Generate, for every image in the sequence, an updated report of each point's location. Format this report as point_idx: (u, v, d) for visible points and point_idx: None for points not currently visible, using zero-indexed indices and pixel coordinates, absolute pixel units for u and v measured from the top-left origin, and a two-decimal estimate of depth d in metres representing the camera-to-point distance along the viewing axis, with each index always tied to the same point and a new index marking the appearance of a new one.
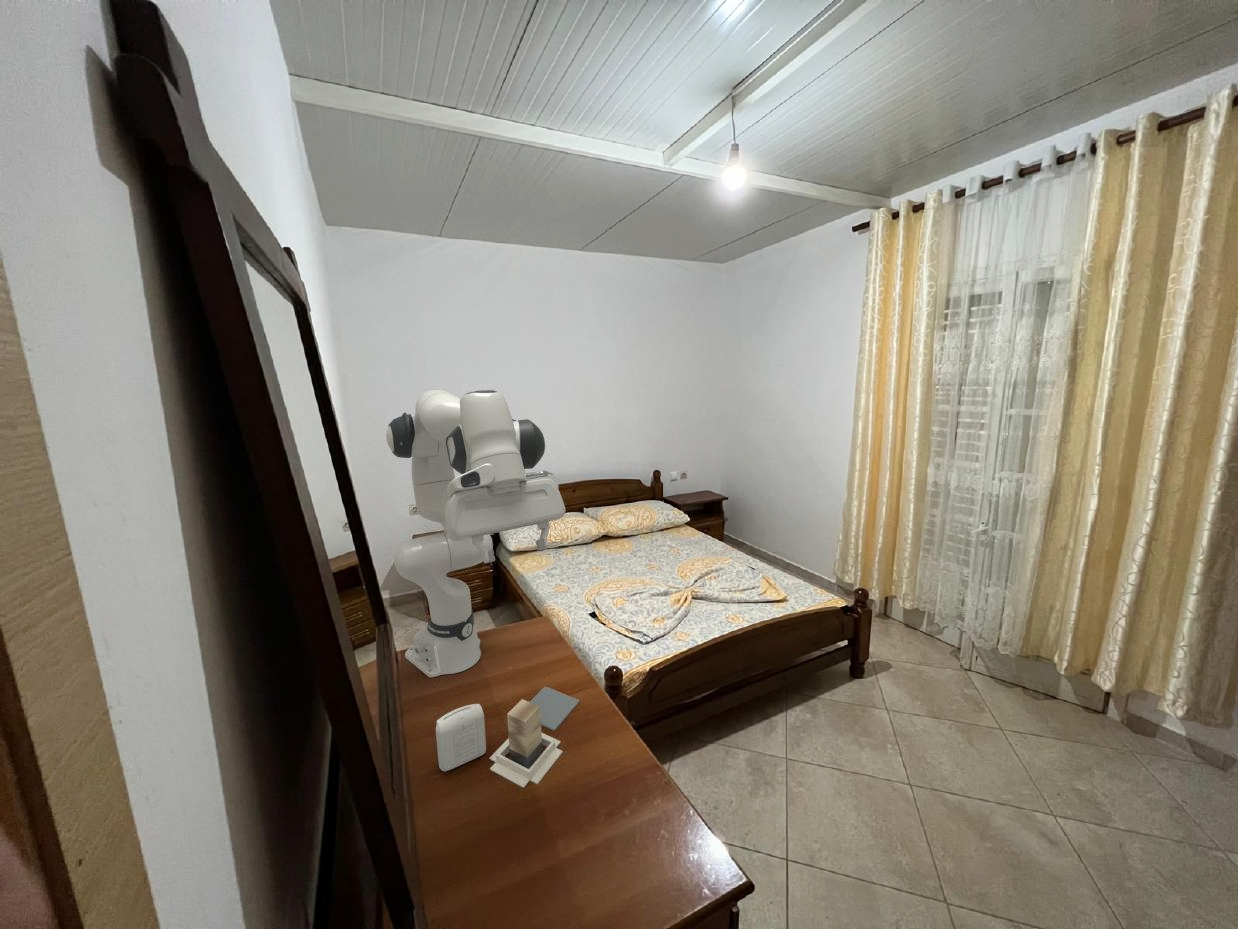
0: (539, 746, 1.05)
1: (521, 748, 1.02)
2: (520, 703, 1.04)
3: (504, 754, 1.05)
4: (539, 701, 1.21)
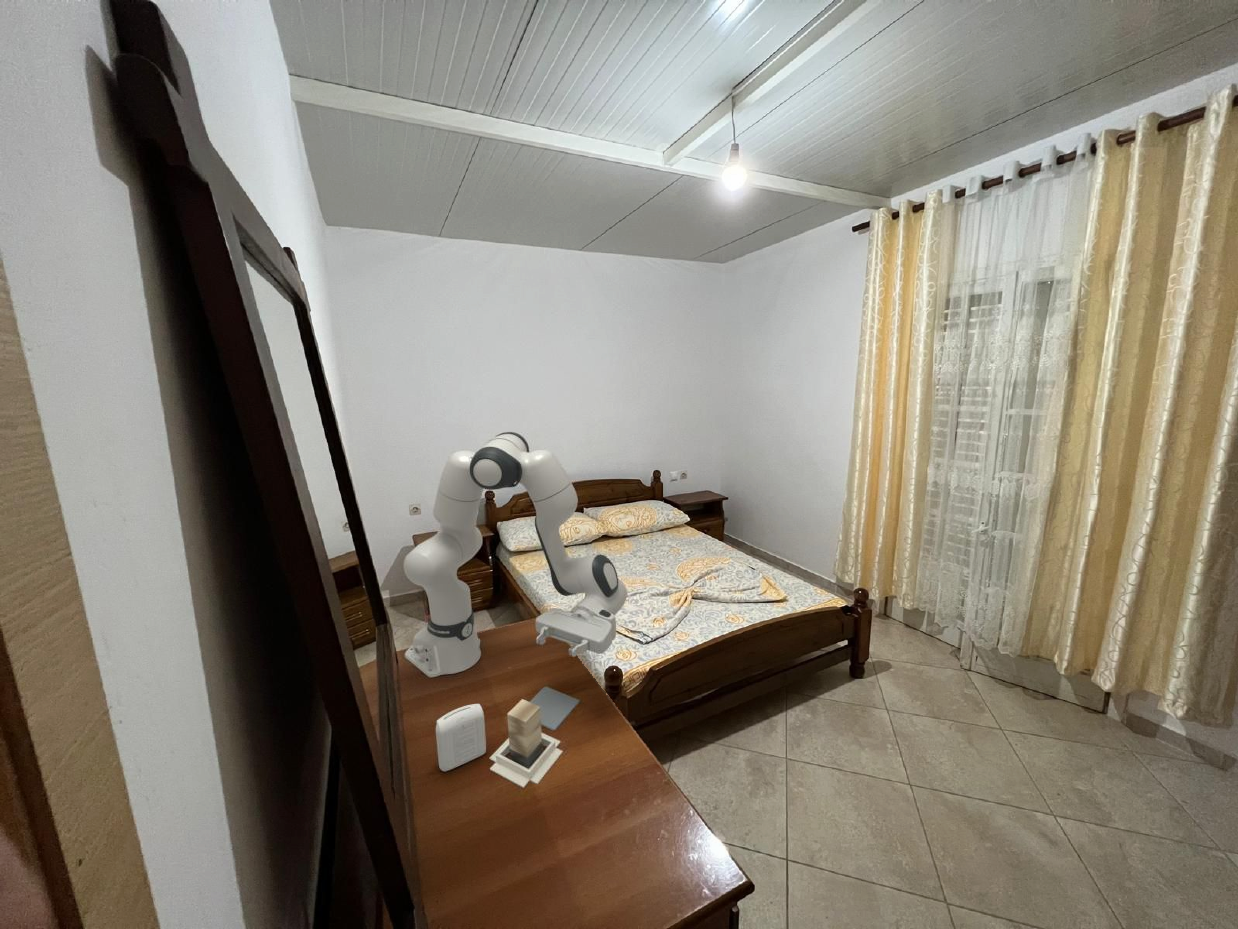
0: (539, 746, 1.05)
1: (521, 748, 1.02)
2: (520, 703, 1.04)
3: (504, 754, 1.05)
4: (539, 701, 1.21)
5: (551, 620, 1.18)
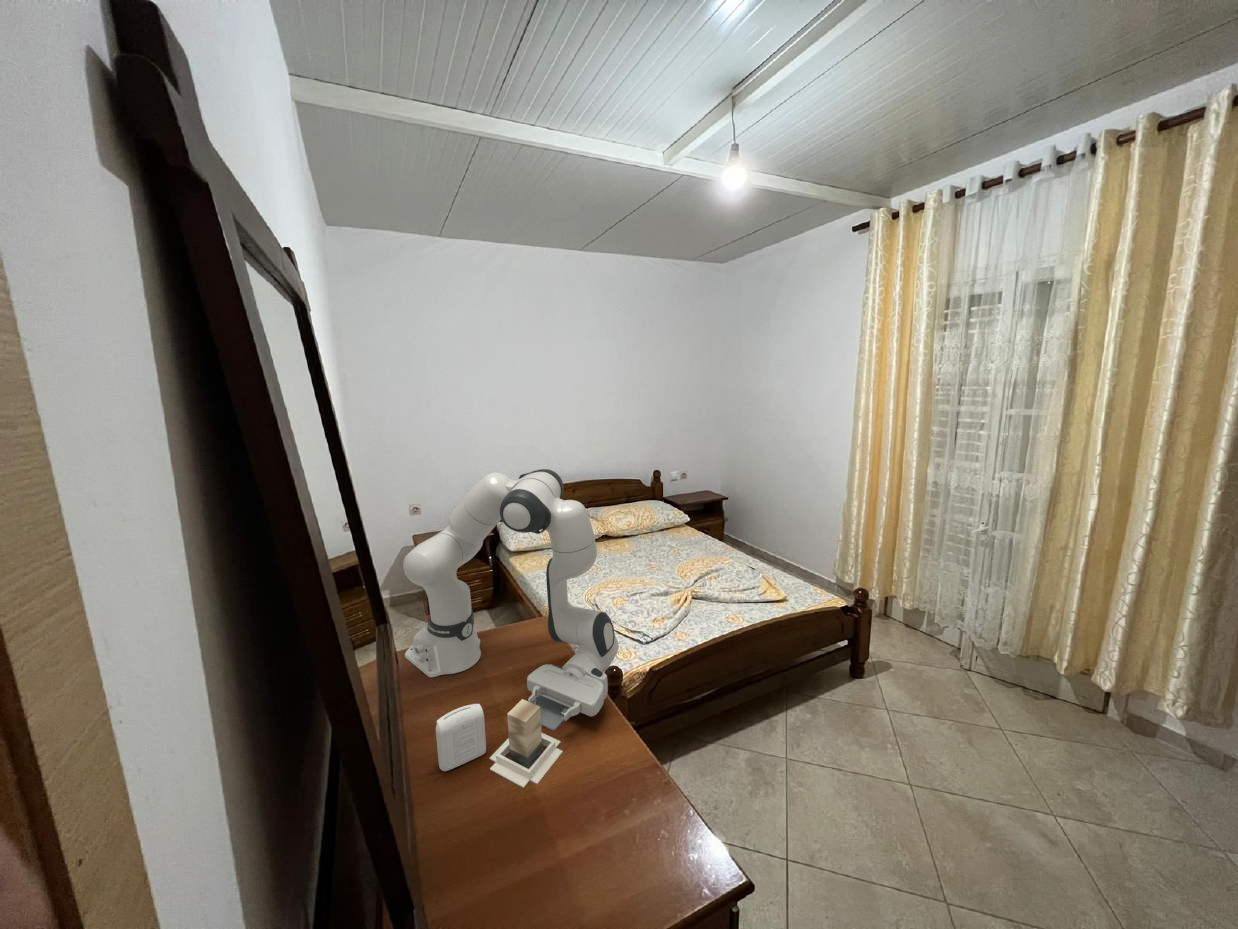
0: (539, 746, 1.05)
1: (521, 748, 1.02)
2: (520, 703, 1.04)
3: (504, 754, 1.05)
4: (539, 701, 1.21)
5: (543, 679, 1.18)
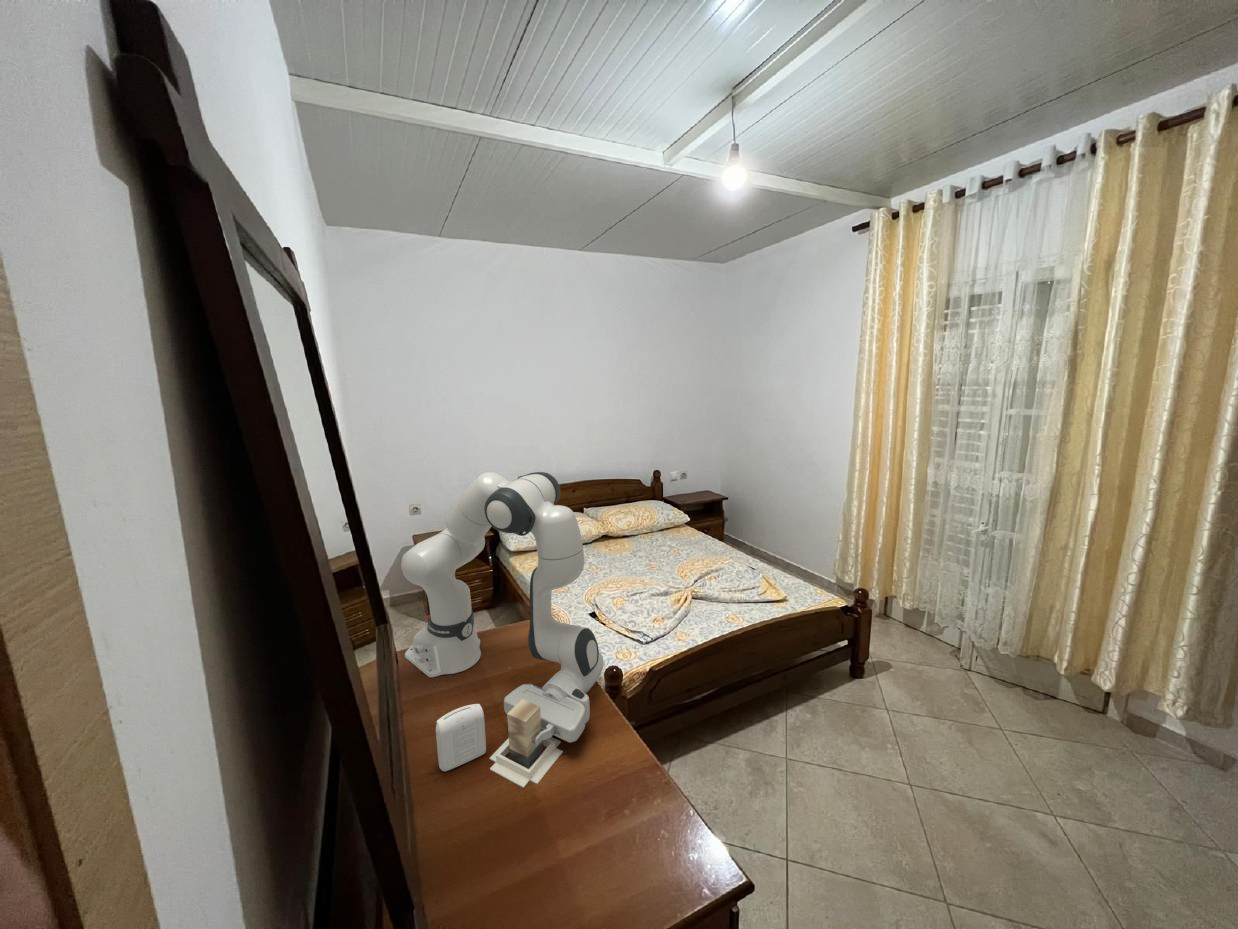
0: (539, 746, 1.05)
1: (521, 748, 1.02)
2: (520, 703, 1.04)
3: (504, 754, 1.05)
4: None
5: None
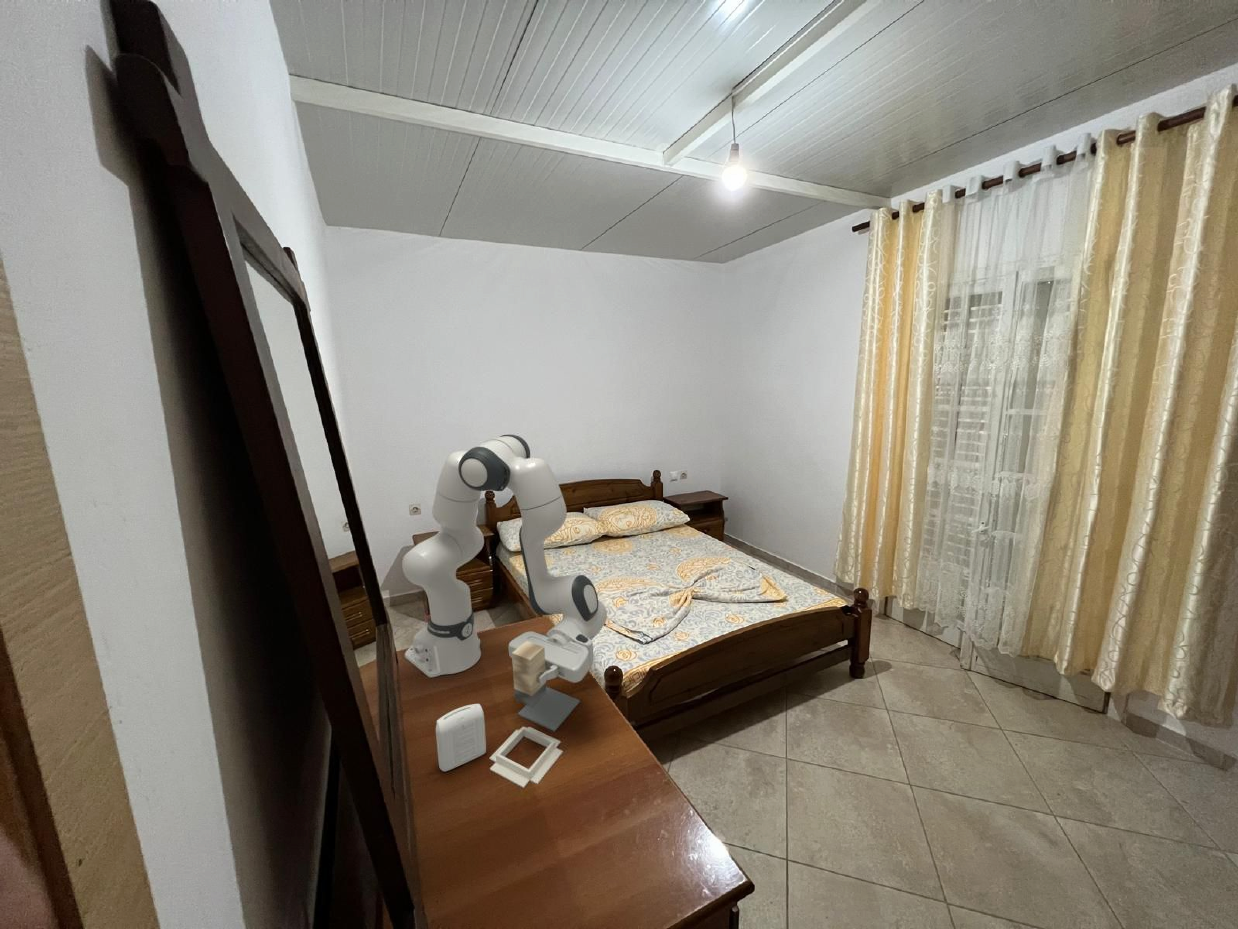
0: (544, 687, 1.06)
1: (525, 687, 1.03)
2: (524, 644, 1.06)
3: (504, 754, 1.05)
4: (539, 701, 1.21)
5: None
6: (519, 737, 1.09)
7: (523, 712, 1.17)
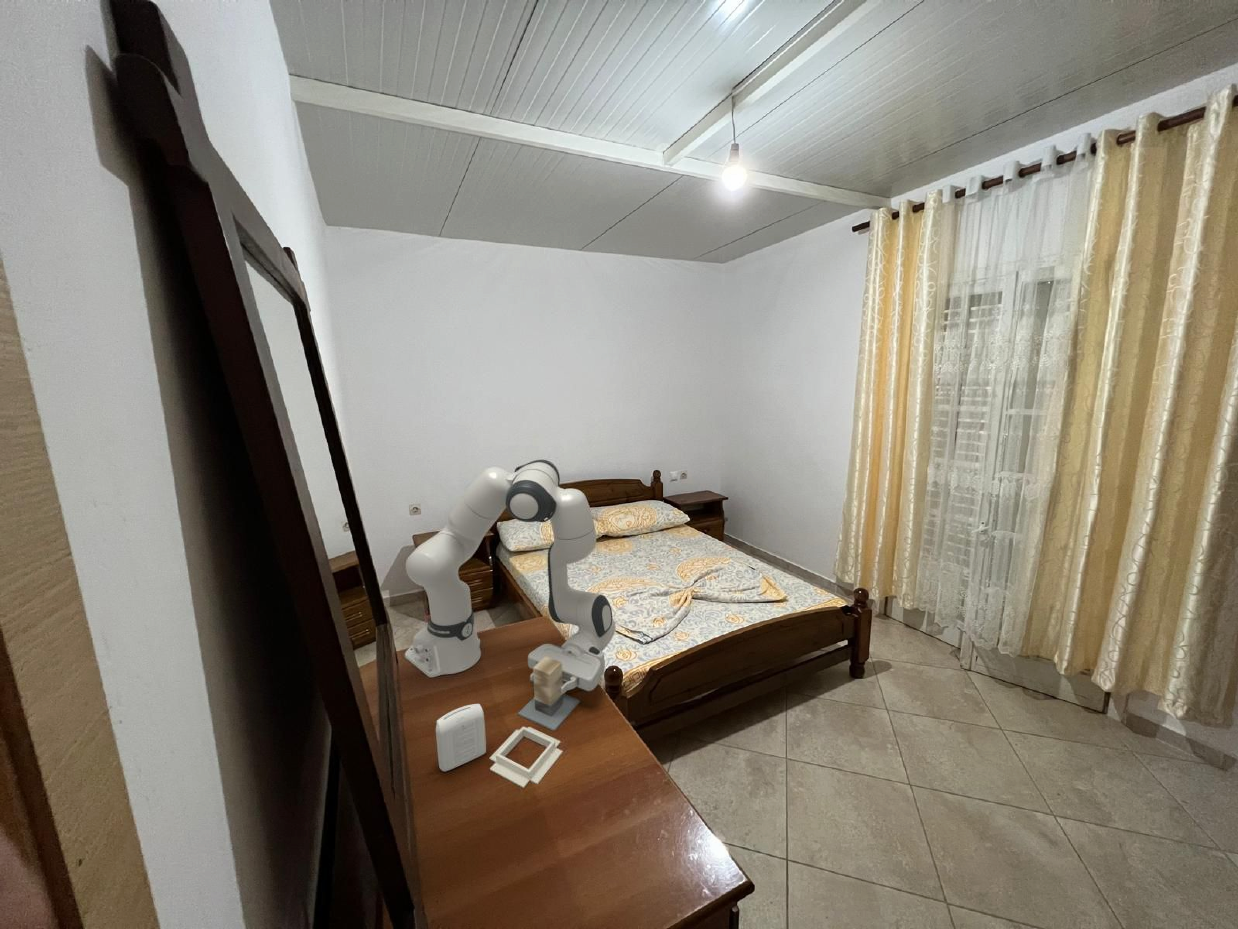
0: (561, 698, 1.19)
1: (545, 698, 1.15)
2: (544, 659, 1.18)
3: (504, 754, 1.05)
4: None
5: (543, 657, 1.24)
6: (519, 737, 1.09)
7: (523, 712, 1.17)
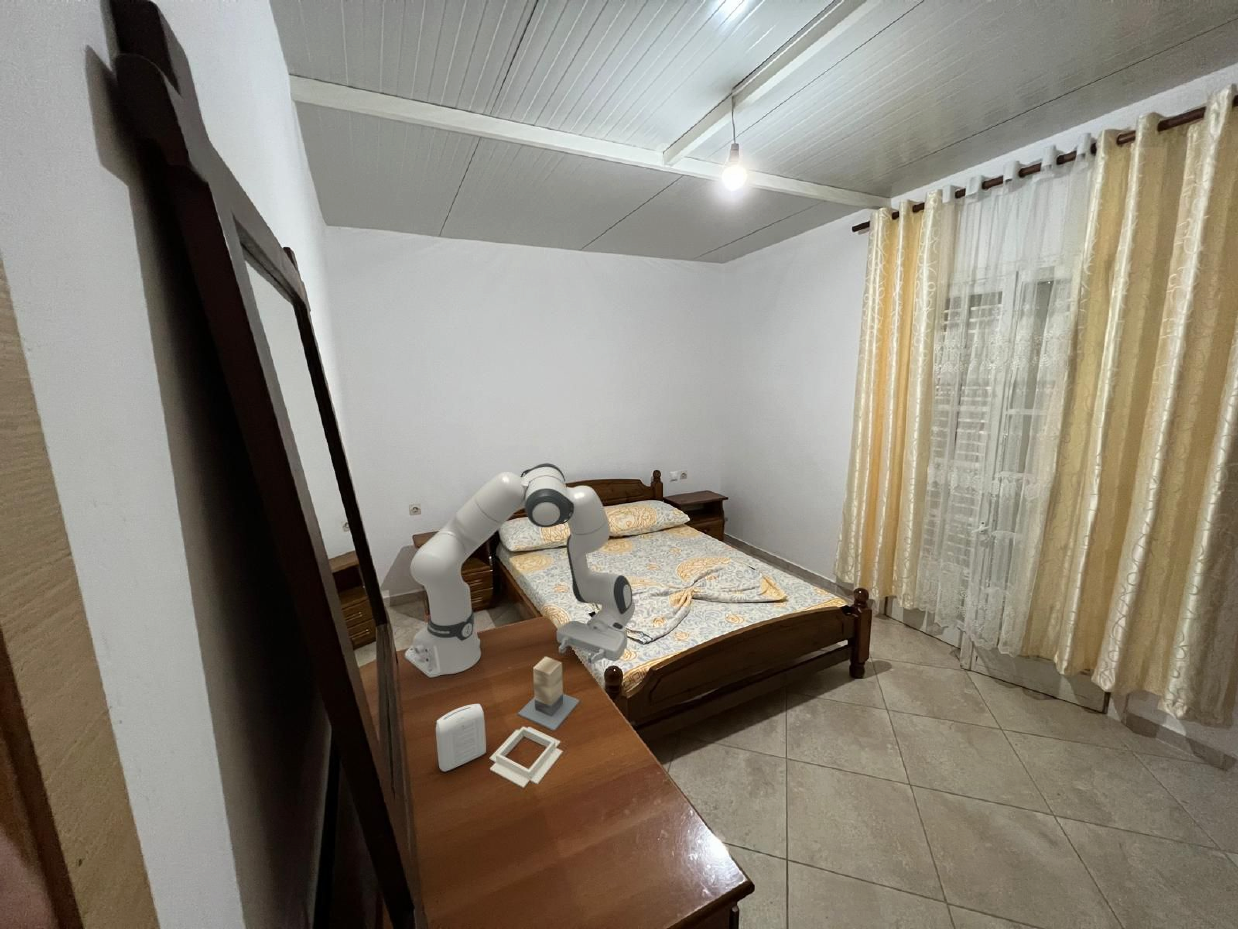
0: (561, 698, 1.19)
1: (545, 698, 1.15)
2: (544, 659, 1.18)
3: (504, 754, 1.05)
4: None
5: (571, 632, 1.35)
6: (519, 737, 1.09)
7: (523, 712, 1.17)
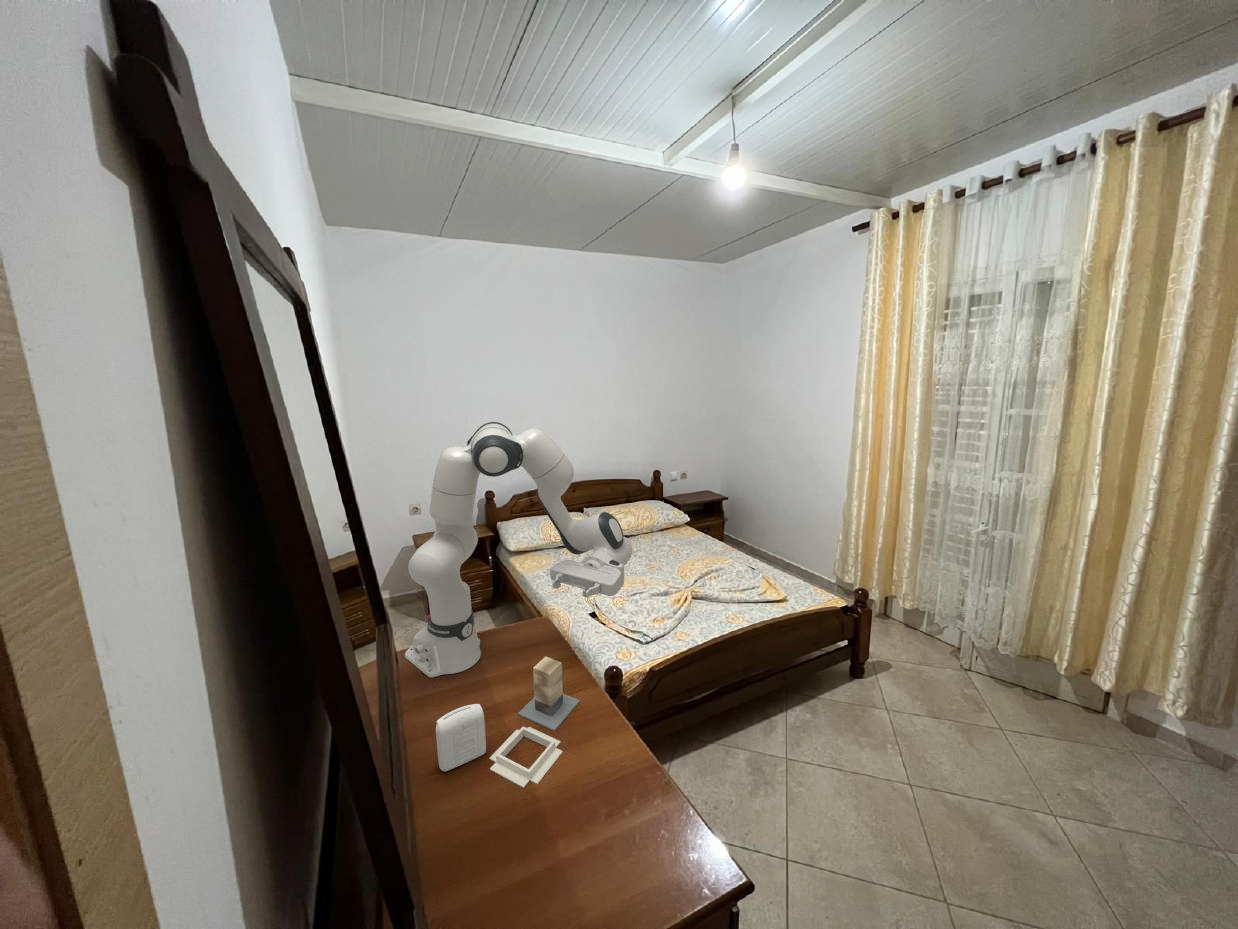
0: (561, 698, 1.19)
1: (545, 698, 1.15)
2: (544, 659, 1.18)
3: (504, 754, 1.05)
4: None
5: (565, 569, 1.29)
6: (519, 737, 1.09)
7: (523, 712, 1.17)
